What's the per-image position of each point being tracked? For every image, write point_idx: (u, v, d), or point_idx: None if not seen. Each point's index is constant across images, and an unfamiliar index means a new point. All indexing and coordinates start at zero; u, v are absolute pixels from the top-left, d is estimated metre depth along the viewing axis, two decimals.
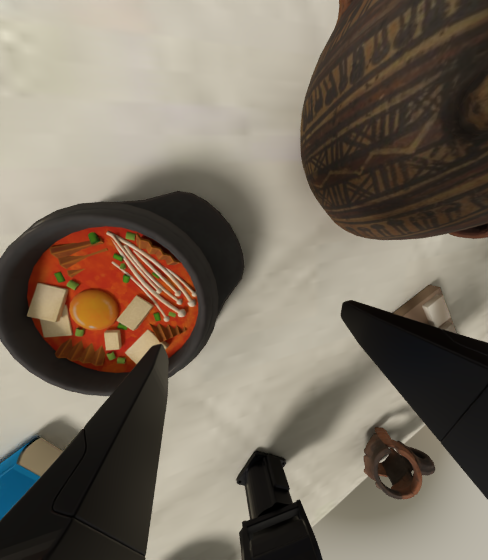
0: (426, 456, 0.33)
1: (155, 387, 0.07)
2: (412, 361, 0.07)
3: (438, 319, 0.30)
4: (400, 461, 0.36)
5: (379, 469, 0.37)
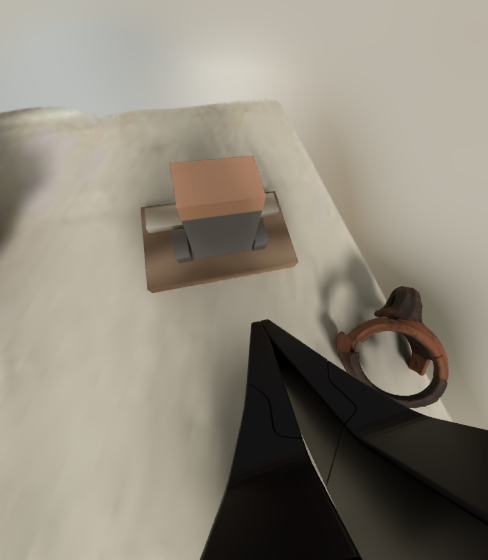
0: (395, 292, 0.20)
1: None
2: (299, 395, 0.06)
3: (174, 219, 0.23)
4: None
5: (418, 363, 0.21)
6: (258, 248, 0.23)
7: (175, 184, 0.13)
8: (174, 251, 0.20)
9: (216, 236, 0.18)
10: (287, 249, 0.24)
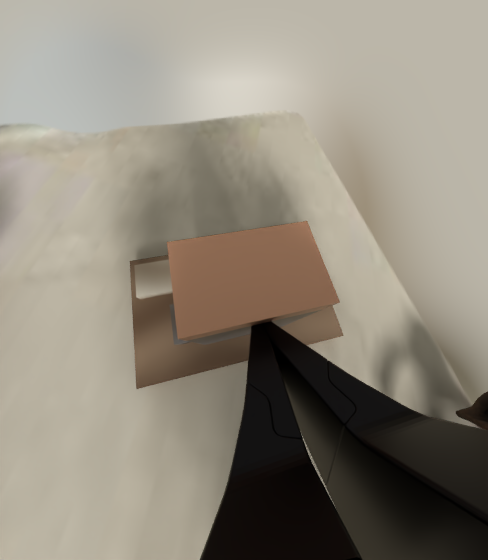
0: None
1: None
2: (299, 395, 0.06)
3: None
4: None
5: None
6: None
7: (176, 286, 0.07)
8: (175, 338, 0.14)
9: (239, 333, 0.11)
10: (327, 317, 0.18)
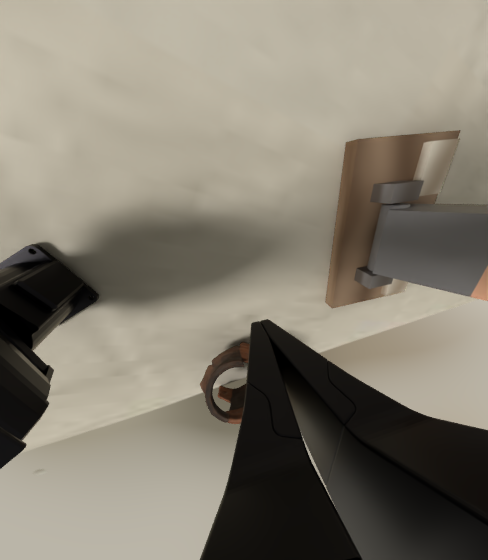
0: None
1: None
2: (299, 395, 0.06)
3: (428, 181, 0.19)
4: None
5: (225, 393, 0.28)
6: (358, 274, 0.22)
7: None
8: (398, 185, 0.16)
9: (437, 244, 0.16)
10: (346, 299, 0.25)
